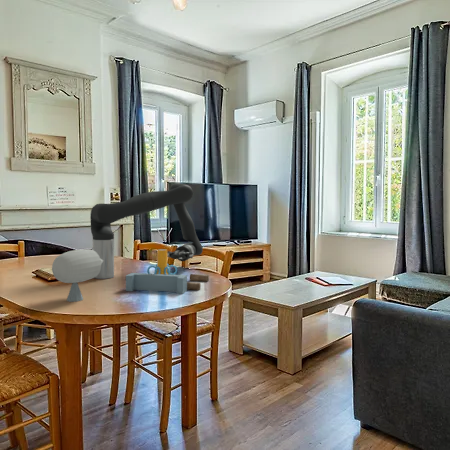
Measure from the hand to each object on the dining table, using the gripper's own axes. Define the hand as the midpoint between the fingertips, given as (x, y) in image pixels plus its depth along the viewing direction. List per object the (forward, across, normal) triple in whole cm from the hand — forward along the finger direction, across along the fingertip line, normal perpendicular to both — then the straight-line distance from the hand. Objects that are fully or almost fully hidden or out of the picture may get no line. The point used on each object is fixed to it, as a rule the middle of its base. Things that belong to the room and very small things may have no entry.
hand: (174, 256), depth 183 cm
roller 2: (+20, +12, +10) cm, 26 cm away
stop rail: (+26, 0, +10) cm, 28 cm away
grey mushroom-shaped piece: (+44, -22, +11) cm, 50 cm away
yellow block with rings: (+17, 0, +10) cm, 20 cm away
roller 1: (+5, +12, +8) cm, 16 cm away
